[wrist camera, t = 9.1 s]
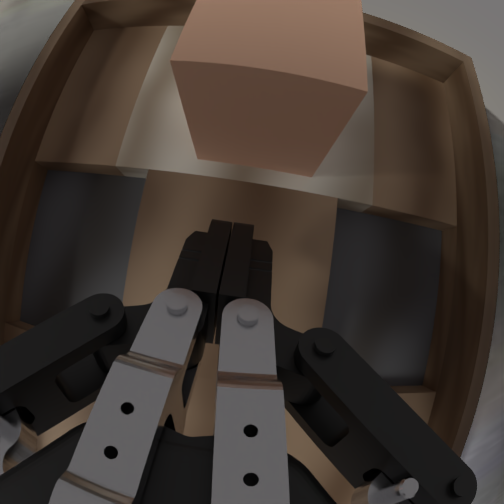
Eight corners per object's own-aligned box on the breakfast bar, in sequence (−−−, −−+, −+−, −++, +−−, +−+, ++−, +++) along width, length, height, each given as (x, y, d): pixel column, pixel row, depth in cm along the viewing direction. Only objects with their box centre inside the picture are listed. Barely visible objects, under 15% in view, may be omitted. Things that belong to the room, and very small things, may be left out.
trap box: (23, 480, 15) (-8, 507, 10) (96, 38, 19) (76, -2, 14) (375, 537, 15) (397, 573, 10) (439, 90, 20) (471, 57, 15)
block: (197, 159, 16) (169, 60, 8) (219, 71, 17) (214, -34, 9) (311, 177, 16) (367, 91, 8) (319, 87, 17) (359, -11, 9)
